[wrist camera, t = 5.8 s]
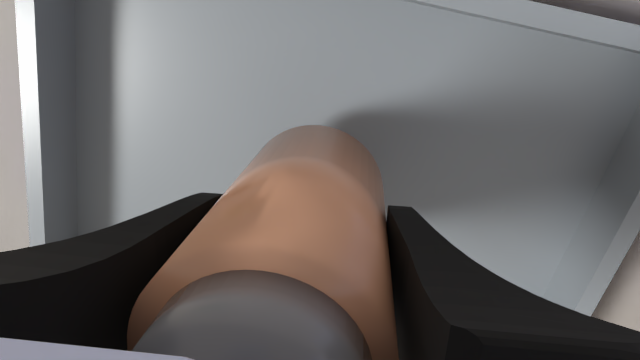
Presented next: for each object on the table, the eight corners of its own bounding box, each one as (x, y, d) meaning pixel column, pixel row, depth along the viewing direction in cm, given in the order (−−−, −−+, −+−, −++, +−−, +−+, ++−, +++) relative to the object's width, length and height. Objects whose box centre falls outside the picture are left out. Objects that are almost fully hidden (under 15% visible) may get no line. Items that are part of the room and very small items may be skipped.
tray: (678, 41, 13) (743, 48, 11) (511, 369, 19) (531, 419, 16) (68, -96, 14) (7, -117, 12) (73, 262, 19) (32, 296, 17)
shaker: (382, 122, 13) (408, 298, 5) (383, 250, 14) (404, 554, 6) (241, 127, 13) (40, 293, 5) (256, 250, 15) (119, 531, 7)
